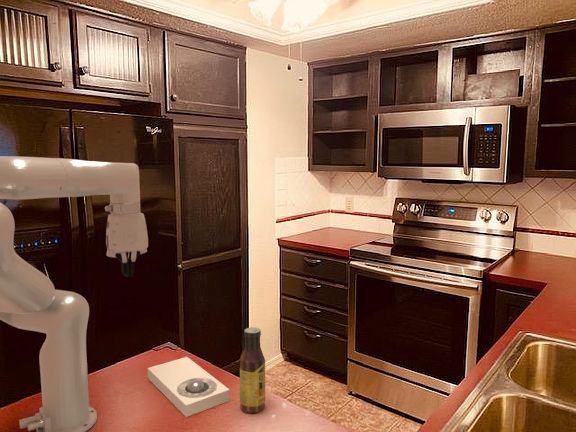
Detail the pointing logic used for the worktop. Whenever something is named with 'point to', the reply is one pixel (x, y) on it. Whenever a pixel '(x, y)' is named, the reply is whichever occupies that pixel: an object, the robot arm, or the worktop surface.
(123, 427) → the worktop surface
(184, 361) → the deck
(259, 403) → the sauce bottle
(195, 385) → the ball
